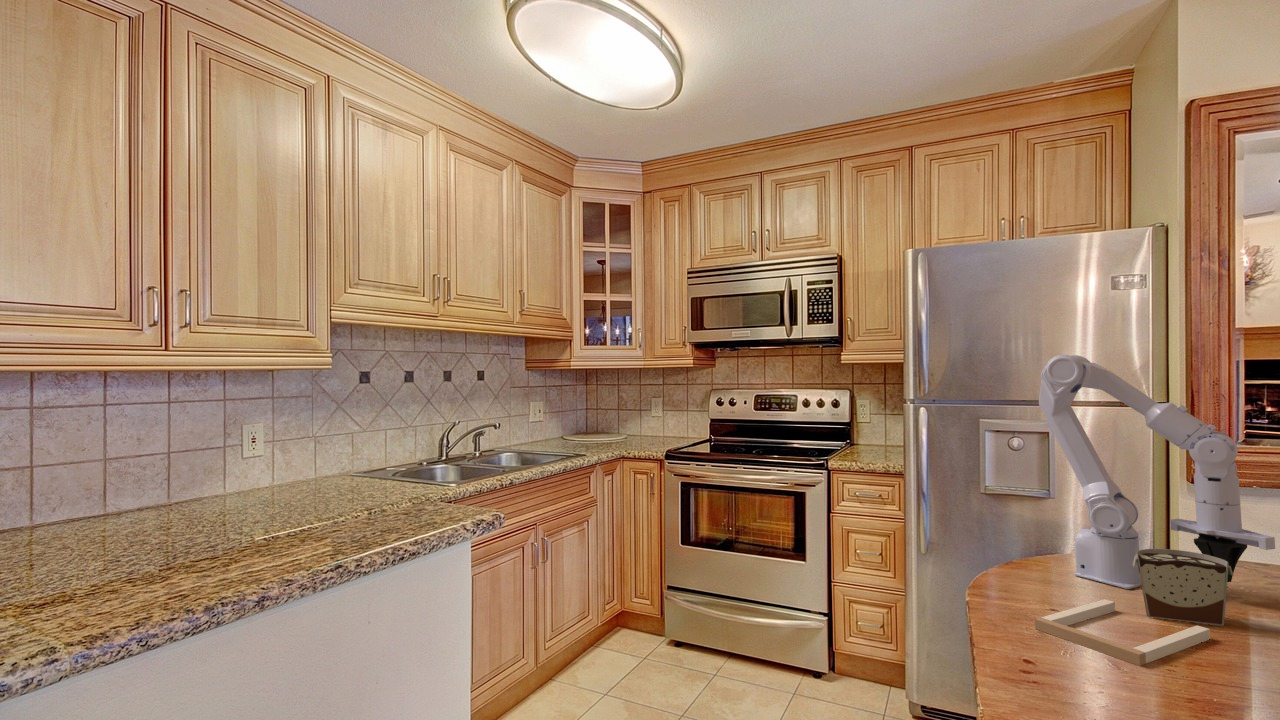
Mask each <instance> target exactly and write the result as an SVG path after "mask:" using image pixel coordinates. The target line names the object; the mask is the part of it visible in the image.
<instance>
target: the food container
mask: <svg viewBox="0 0 1280 720" xmlns="http://www.w3.org/2000/svg"><path fill="white" fill-rule="evenodd" d="M1136 563H1138V569H1139V574H1140V580H1141V585H1142V586H1141V590H1142V596H1143V600H1144V607H1145V612H1146V617H1147V616H1148V617H1153V618H1152V619H1155V618H1160V619H1159V620H1164V619H1169V620H1168V621H1172V620H1178V621H1177V622H1181V621H1187V622H1186V623H1190V622H1196V623H1195V624H1199V623H1202V624H1201V625H1208V624H1210V626H1218V627H1224V626H1225V618H1226V616H1225V615H1226V605H1227V603H1226V602H1227V593H1228V592H1227V591H1228V588H1227V587H1228V582H1227V579H1228V574H1230V575H1232V577H1233V576H1234V572H1232V569H1231V566H1229V565H1228V562H1227V561H1225V560H1223V559H1220V558H1217V557H1213V556H1209V555H1205V554H1202V553H1201V552H1200V553H1199V552H1195V551H1194V552H1193V551H1187V550H1181V549H1180V550H1178V549H1170V548H1169V549H1168V548H1146V549H1145V548H1144V549H1139V551H1137V552H1136V555H1135V556H1134V561H1133V566H1134V567H1135V566H1136ZM1148 617H1147V618H1148Z"/></svg>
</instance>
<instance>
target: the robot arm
mask: <svg viewBox="0 0 1280 720" xmlns="http://www.w3.org/2000/svg"><path fill="white" fill-rule="evenodd" d="M1040 380H1041V382H1040V388H1039V389H1040V390H1039V399H1038V405H1039V408H1040V410H1041V412H1042V414H1043V416H1044V418H1045V420H1046V421H1047V424H1048V425H1049V427H1050V429H1051V431H1052V434H1053V435H1054V437H1055V438H1056V440H1057V443H1058V444H1059V447H1060V448H1061V451H1062V452H1063V454H1064V456H1065V458H1066V460H1067V461H1068V463H1069V465H1070V466H1071V469H1072V471H1073V472H1074V475H1075V476H1076V478H1077V480H1078V482H1079V484H1080V486H1081V488H1082V492H1083V500H1084V502H1085V504H1086V507H1087V509H1088V511H1087V519H1088V521H1089V523H1090V525H1091V527H1090V528H1082V529H1080V530H1079V531H1078V532H1077V533H1076V537H1075V540H1074V541H1075V542H1074V543H1075V545H1074V546H1075V548H1074V550H1075V567H1076V568H1075V570H1076V572H1074V574H1073V575H1074V576H1076V577H1081V578H1084V579H1088V580H1090V581H1096V582H1100V583H1103V584H1107V585H1112V586H1115V587H1119V588H1122V589H1126V590H1130V589H1135V588H1137V587H1142V585H1141V580H1140V574H1139V569H1138V563H1136V566H1135V567H1134V566H1133V561H1134V556H1135V555H1136V552H1137V551H1139V550H1140V538H1139V533H1138V532H1137V531H1136V529H1135V528H1134V526H1133V525H1134V524H1135V523H1136V522H1137V520H1138V518H1139V510H1138V508H1137V506H1136V504H1135V503H1134V502H1133V501H1132V500H1131V499H1129V497H1128V498H1127V497H1126V496H1125V495H1124V494H1123V492H1122V490H1121V489H1120V487H1119V486H1118V485H1117V484H1116V483H1115V482H1114V481H1113V480H1112V478H1111V476H1110V474H1109V473H1108V470H1107V469H1106V467H1105V466H1104V463H1103V462H1102V460H1101V458H1100V456H1099V455H1098V453H1097V451H1096V449H1095V447H1094V445H1093V443H1092V442H1091V440H1090V438H1089V435H1088V434H1087V433H1086V431H1085V429H1084V427H1083V426H1082V424H1081V421H1080V419H1079V417H1077V414H1076V413H1075V411H1074V409H1073V407H1072V403H1073V401H1074V399H1075V398H1076V395H1077V394H1078V392H1079V391H1080V390H1081V389H1082V388H1086V389H1094V390H1100V391H1103V392H1105V393H1106V394H1107V395H1109V396H1111V397H1113V398H1115V399H1116V400H1118V401H1119V402H1121V403H1123V404H1124V405H1126V406H1127V407H1129V408H1131V409H1133V410H1134V411H1135V412H1137V413H1138V414H1141V415H1142V416H1144V419H1145V426H1146V427H1148V428H1149V429H1150V430H1152V431H1153V432H1155V433H1157V434H1158V435H1159V436H1161V437H1163V438H1164V439H1166V440H1167V441H1168V442H1170V443H1172V444H1173V445H1174V446H1176V447H1178V448H1179V449H1181V450H1187V451H1188V452H1189V455H1190V457H1191V459H1192V460H1193V461H1194V474H1193V484H1194V499H1195V500H1194V503H1195V519H1196V520H1188V519H1182V518H1174V519H1173V518H1172V519H1170V520H1169V522H1170V530H1171V531H1177V532H1179V531H1180V532H1182V533H1183V532H1184V533H1190V534H1193V535H1198V537H1195V538H1193V543H1194V545H1196V547H1197V548H1198V550H1199V551H1200V554H1205V555H1209V556H1213V557H1217V558H1220V559H1223V560H1225V561H1227V562H1228V565H1229V566H1231V569H1232V572H1233V573H1234V572H1235V568H1236V566H1237V564H1238V562H1239V560H1240V558H1241V556H1242V555H1243V553H1245V551H1246V550H1247V548H1248V546H1252V547H1256V548H1259V550H1260V549H1261V550H1265V551H1268V550H1276V538H1275V536H1270V535H1265V534H1261V533H1258V532H1254V531H1251V530H1249V529H1244V528H1243V526H1242V525H1243V524H1242V523H1243V522H1242V509H1241V506H1242V505H1241V493H1240V478H1239V477H1238V475H1237V473H1238V466H1237V464H1236V462H1235V460H1237V455H1238V453H1239V451H1238V446H1237V443H1236V441H1234V440H1233V438H1231V437H1230V436H1229V435H1228V434H1227V432H1226V433H1225V432H1222V431H1217V430H1216V429H1217V427H1216V426H1215V425H1213V424H1212V423H1210V424H1206V423H1205V422H1203V421H1202V420H1200V419H1198V418H1197V417H1195V416H1194V415H1192V414H1190V413H1189V412H1187V411H1188V410H1189V409H1188V407H1186V406H1185V405H1183V404H1179V405H1176V404H1174V403H1173V402H1164V403H1163V402H1161V403H1160V402H1157V401H1156V400H1154V399H1153V398H1151V397H1150V396H1148V395H1147V394H1145V393H1144V392H1142V391H1141V390H1139V388H1136V387H1135V386H1133V385H1132V384H1131V383H1129V382H1127V381H1126V380H1124V379H1123V378H1121V377H1120V376H1119V375H1117V374H1116V373H1114V372H1112V371H1111V370H1109V369H1108V368H1106V367H1104V366H1102V365H1100V364H1099V363H1095V362H1091V361H1090V360H1089V359H1088V358H1086V357H1084V356H1081V355H1077V354H1076V355H1075V354H1072V355H1070V354H1059V355H1055V356H1054V357H1051V359H1049V360H1048V362H1047V363H1046V364H1045V365H1044V368H1043V369H1042V371H1041V373H1040ZM1232 580H1233V576H1232V575H1230V574H1228V579H1227V583H1231V582H1232Z"/></svg>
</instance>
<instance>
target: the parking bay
mask: <svg viewBox="0 0 1280 720" xmlns="http://www.w3.org/2000/svg"><path fill="white" fill-rule="evenodd" d="M1115 603H1116V602H1115V601H1112V600H1109V599H1105V598H1104V599H1100V600H1097V601H1094V602H1090V603H1087V604H1084V605H1083V604H1082V605H1080V606H1075V607H1073V608H1069V609H1066V610H1063V611H1058V612H1056V613H1052V614H1049V615H1045V616H1042V617H1041V616H1040V617H1038V618H1035V619H1034V622H1035V623H1034V628H1035V630H1038V631H1040V632H1043V633H1046V634H1049V635H1051V636H1054V637H1058V638H1060V639H1063V640H1066V641H1068V642H1071V643H1073V644H1077V645H1080V646H1083V647H1085V648H1088V649H1091V650H1094V651H1096V652H1100V653H1102V654H1105V655H1107V656H1111V657H1114V658H1117V659H1120V660H1122V661H1124V662H1125V661H1126V662H1128V663H1131V664H1133V665H1136V666H1140V667H1141V666H1143V665H1144V666H1145V664H1148V663H1151V662H1153V661H1156V660H1159V659H1162V658H1164V657H1167V656H1170V655H1173V654H1175V653H1178V652H1180V651H1183V650H1186V649H1188V648H1192V647H1193V646H1197V645H1199V644H1201V642H1202V643H1204V642H1207V641H1209V639H1210V640H1211V631H1210V630H1211V629H1210V628H1208V627H1204V626H1201V625H1194V626H1192V627H1188V628H1186V629H1183V630H1180V631H1177V632H1175V633H1172V634H1169V635H1166V636H1163V637H1161V638H1157V639H1155V640H1152V641H1149V642H1146V643H1144V644H1141V645H1137V646H1135V647H1130V646H1127V645H1124V644H1121V643H1118V642H1115V641H1113V640H1109V639H1106V638H1103V637H1101V636H1098V635H1095V634H1092V633H1088V632H1085V631H1083V630H1079V629H1077V628H1074V627H1072V626H1071V625H1074V624H1077V623H1080V622H1081V623H1082V622H1084V621H1087V619H1088V620H1091V619H1094V618H1098V617H1101V616H1104V615H1106V614H1110V613H1113V612H1116V605H1115ZM1090 618H1091V619H1090Z"/></svg>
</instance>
